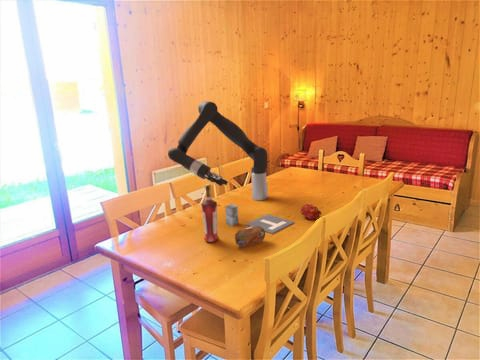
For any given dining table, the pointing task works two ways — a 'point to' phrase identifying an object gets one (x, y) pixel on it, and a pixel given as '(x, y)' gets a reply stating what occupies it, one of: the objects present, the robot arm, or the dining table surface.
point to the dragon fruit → (310, 211)
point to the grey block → (232, 214)
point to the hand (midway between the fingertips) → (224, 184)
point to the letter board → (270, 223)
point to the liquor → (209, 216)
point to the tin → (250, 236)
